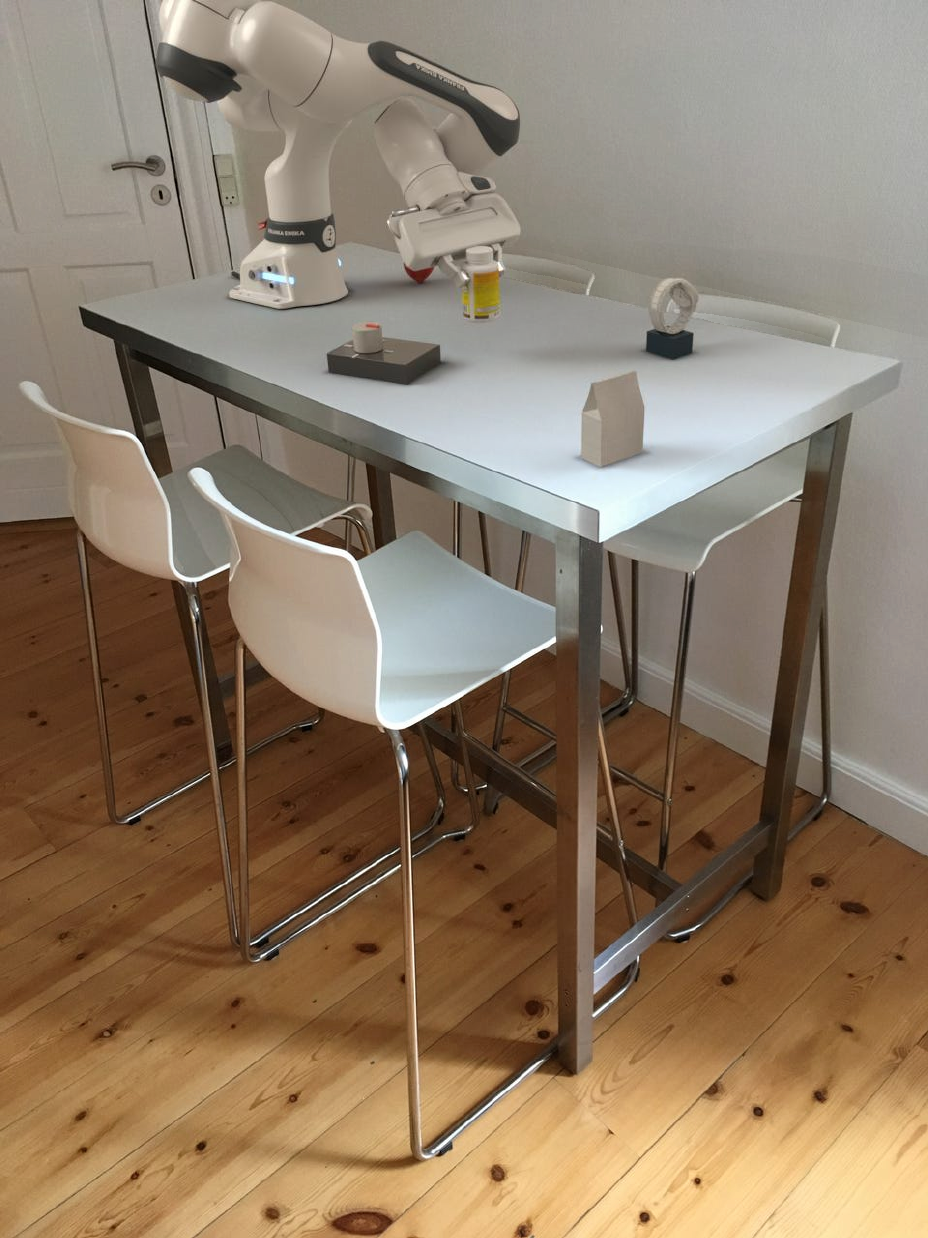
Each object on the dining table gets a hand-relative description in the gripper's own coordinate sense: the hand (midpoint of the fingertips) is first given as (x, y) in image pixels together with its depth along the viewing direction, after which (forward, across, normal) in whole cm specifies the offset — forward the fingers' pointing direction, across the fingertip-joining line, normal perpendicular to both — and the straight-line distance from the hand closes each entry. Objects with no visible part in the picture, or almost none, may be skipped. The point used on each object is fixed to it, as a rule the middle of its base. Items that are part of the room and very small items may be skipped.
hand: (483, 279), depth 160 cm
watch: (+21, +22, -3) cm, 31 cm away
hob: (+3, -13, +14) cm, 20 cm away
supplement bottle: (+4, 0, +5) cm, 6 cm away
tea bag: (+36, -12, -19) cm, 43 cm away
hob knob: (0, -15, +13) cm, 20 cm away
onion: (-22, +19, +40) cm, 49 cm away
